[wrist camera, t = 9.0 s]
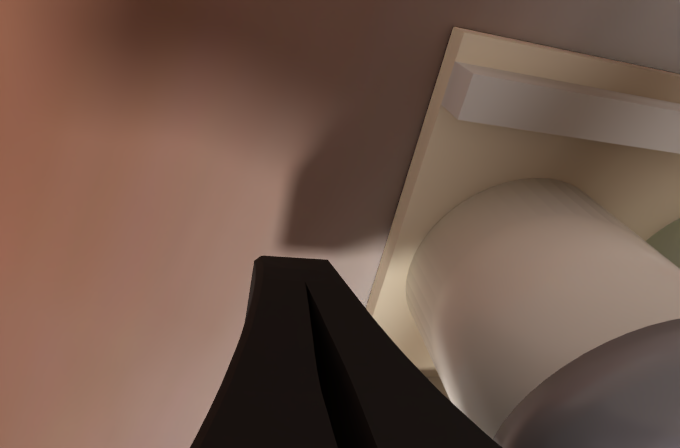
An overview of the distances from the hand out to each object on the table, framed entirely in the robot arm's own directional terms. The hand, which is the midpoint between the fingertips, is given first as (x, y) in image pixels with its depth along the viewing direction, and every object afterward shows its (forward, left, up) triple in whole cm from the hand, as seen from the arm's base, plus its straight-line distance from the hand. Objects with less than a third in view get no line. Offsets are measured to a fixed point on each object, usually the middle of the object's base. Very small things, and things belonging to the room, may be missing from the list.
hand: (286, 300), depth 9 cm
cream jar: (-6, 0, -1) cm, 6 cm away
